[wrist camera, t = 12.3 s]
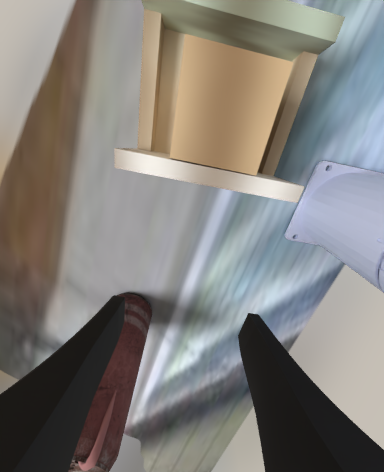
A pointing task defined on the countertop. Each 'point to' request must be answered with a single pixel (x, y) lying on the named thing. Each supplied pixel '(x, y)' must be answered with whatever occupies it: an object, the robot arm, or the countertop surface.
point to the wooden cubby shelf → (234, 34)
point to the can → (114, 393)
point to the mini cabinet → (226, 104)
